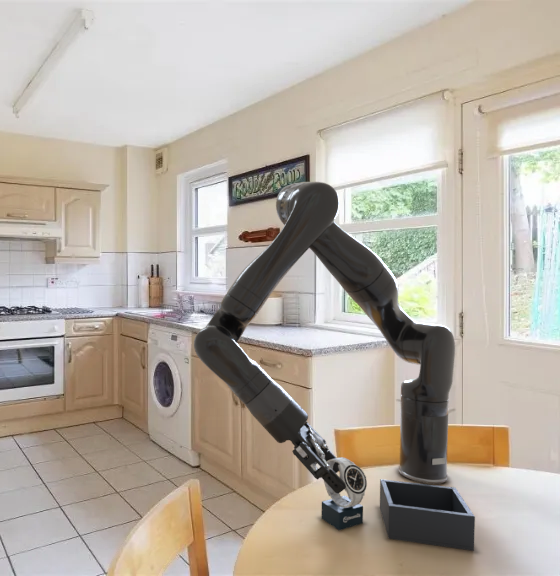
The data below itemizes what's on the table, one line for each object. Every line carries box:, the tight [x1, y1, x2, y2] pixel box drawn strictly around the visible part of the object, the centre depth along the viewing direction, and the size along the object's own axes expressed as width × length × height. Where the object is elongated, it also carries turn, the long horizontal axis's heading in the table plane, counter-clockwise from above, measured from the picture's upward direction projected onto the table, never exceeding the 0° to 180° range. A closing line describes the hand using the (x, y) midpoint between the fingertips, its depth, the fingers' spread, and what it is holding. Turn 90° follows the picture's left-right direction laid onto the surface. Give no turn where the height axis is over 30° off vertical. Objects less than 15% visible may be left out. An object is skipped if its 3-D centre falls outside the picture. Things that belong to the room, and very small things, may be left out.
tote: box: [379, 478, 476, 552], centre depth 83 cm, size 11×13×6 cm
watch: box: [320, 456, 368, 531], centre depth 85 cm, size 6×8×11 cm
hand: (340, 479), depth 85 cm, fingers open, 8 cm apart
